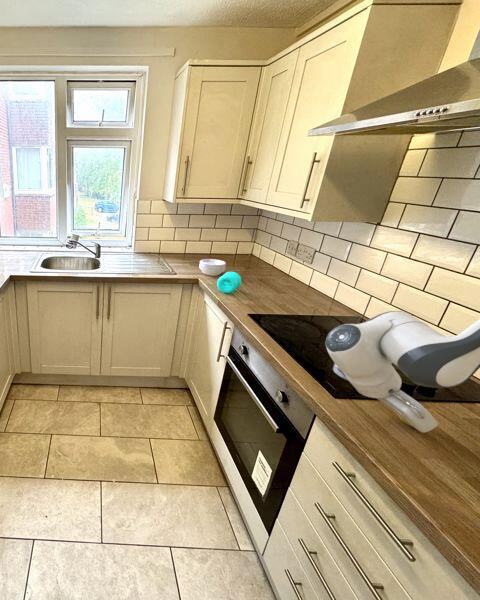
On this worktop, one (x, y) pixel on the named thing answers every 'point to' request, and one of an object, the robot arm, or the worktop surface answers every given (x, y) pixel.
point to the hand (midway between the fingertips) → (398, 410)
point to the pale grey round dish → (338, 372)
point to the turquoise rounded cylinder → (225, 285)
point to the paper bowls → (212, 266)
